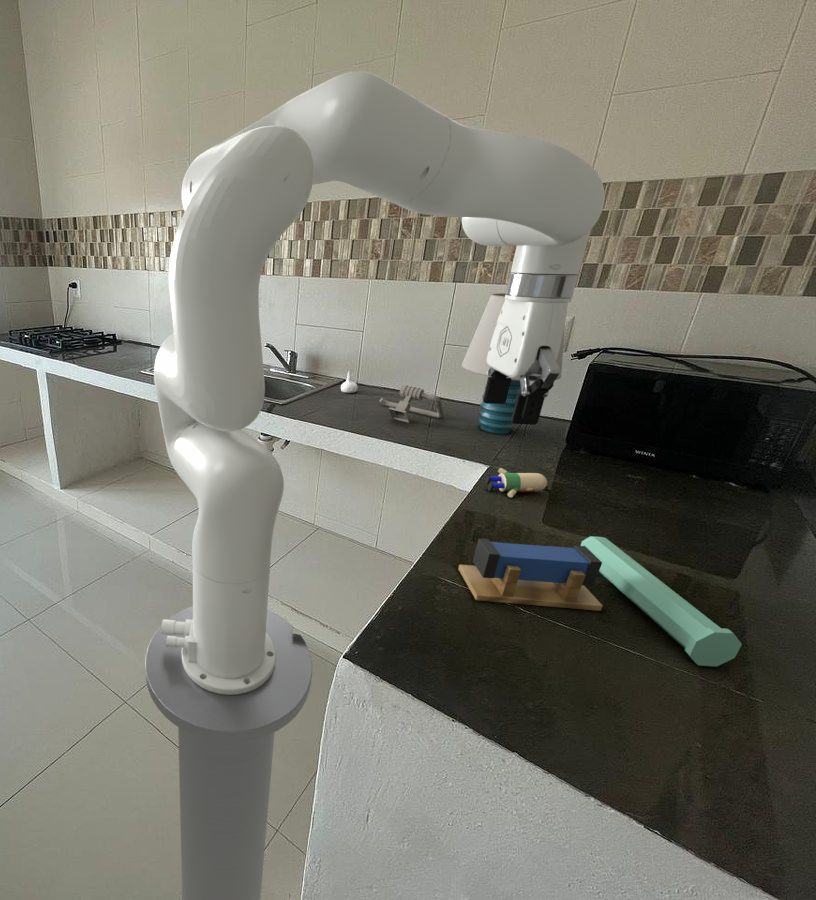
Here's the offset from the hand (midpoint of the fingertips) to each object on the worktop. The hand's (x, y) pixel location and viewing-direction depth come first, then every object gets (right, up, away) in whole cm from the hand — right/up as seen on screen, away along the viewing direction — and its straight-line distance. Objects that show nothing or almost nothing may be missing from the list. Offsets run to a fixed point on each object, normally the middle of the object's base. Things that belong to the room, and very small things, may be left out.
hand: (507, 412), depth 70 cm
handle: (+7, -25, +6) cm, 27 cm away
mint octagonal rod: (+23, -29, +5) cm, 37 cm away
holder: (+7, -28, +7) cm, 30 cm away
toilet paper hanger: (+19, +6, +89) cm, 91 cm away
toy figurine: (+25, -15, +39) cm, 49 cm away
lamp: (+43, +1, +78) cm, 89 cm away
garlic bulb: (+9, +17, +116) cm, 118 cm away
